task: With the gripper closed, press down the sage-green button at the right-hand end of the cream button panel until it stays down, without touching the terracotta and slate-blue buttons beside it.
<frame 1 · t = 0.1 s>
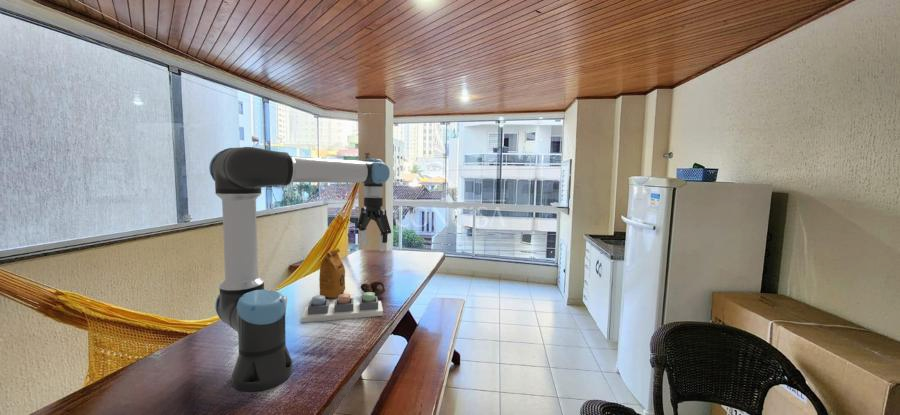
hand: (373, 248, 140), 28 cm above the table, tool pointing down, fingers open, 13 cm apart
brown piece: (372, 296, 164), on the table
button panel: (344, 313, 142), on the table
terracotta button: (344, 299, 142), point 6 cm above the table, slide at 0.0 cm
slate button: (318, 301, 139), point 6 cm above the table, slide at 0.0 cm
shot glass: (278, 315, 139), on the table
sage button: (368, 297, 144), point 6 cm above the table, slide at 0.0 cm
coffee package: (332, 295, 164), on the table
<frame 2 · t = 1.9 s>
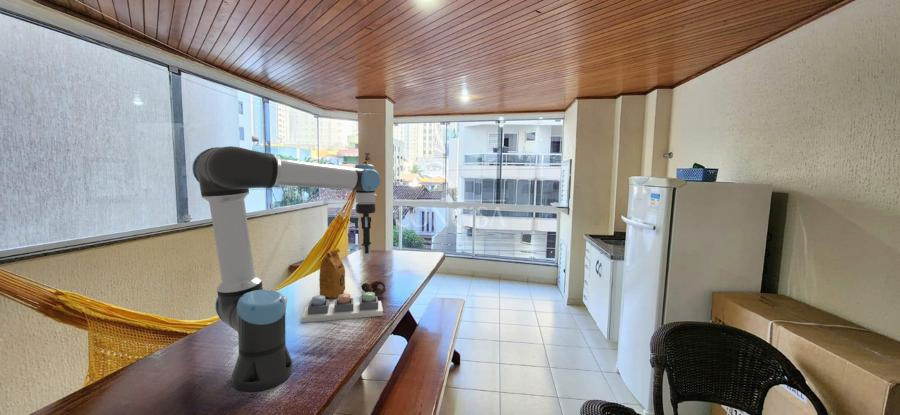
hand: (366, 260, 138), 23 cm above the table, tool pointing down, fingers closed
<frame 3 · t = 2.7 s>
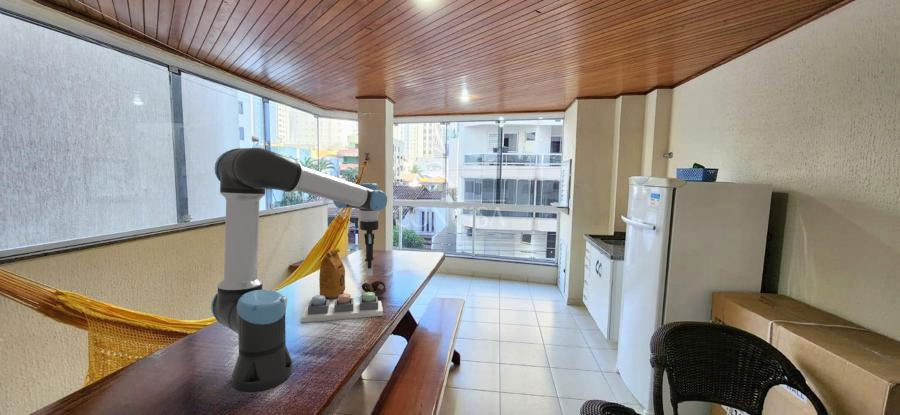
hand: (369, 275, 144), 16 cm above the table, tool pointing down, fingers closed
nothing on the table moved.
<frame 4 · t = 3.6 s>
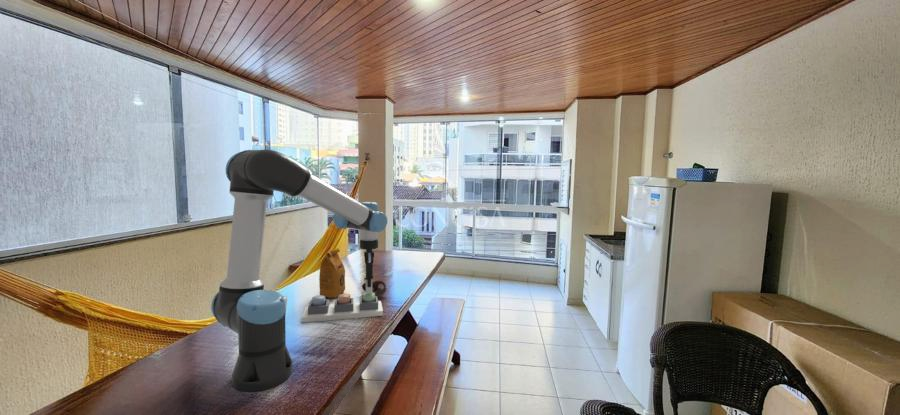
hand: (369, 293, 144), 8 cm above the table, tool pointing down, fingers closed
sage button: (368, 297, 144), point 6 cm above the table, slide at 0.1 cm, touching gripper
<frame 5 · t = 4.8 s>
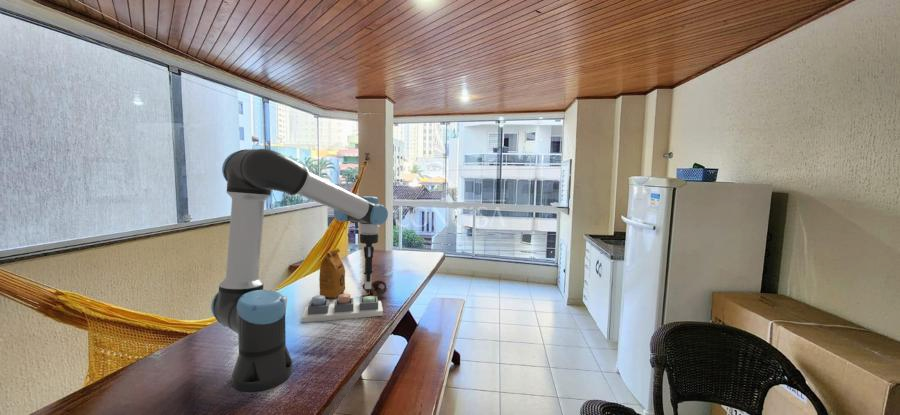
hand: (367, 288, 144), 10 cm above the table, tool pointing down, fingers closed
sage button: (368, 301, 145), point 4 cm above the table, slide at 1.7 cm
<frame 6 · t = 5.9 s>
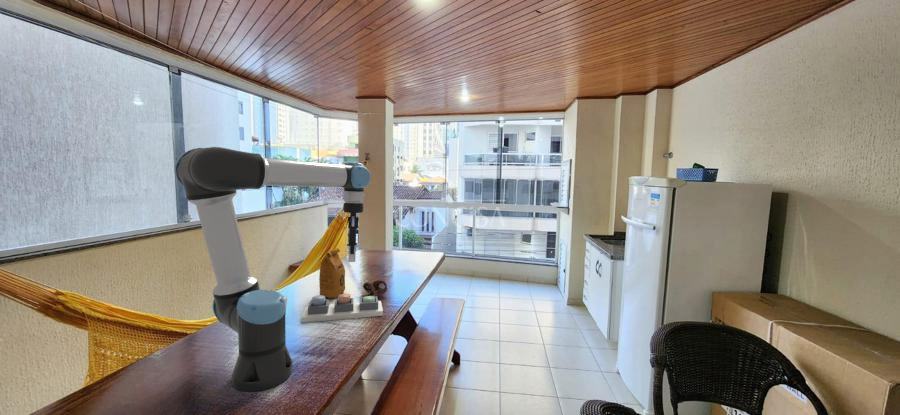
hand: (351, 261, 135), 24 cm above the table, tool pointing down, fingers closed
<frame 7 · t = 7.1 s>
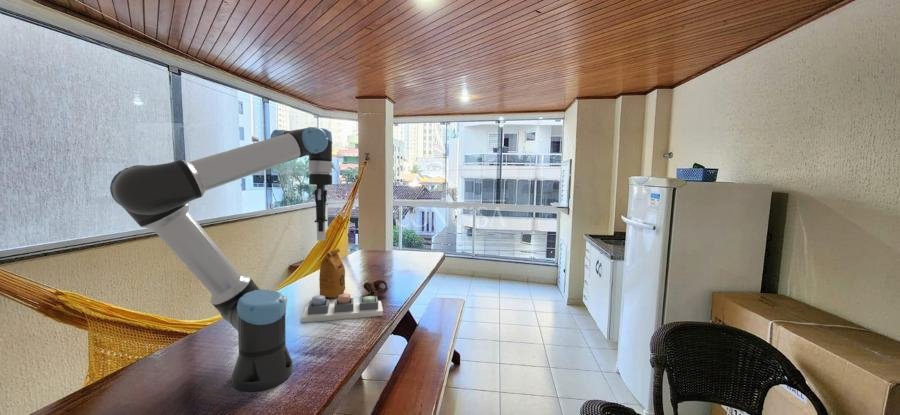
hand: (321, 240, 121), 34 cm above the table, tool pointing down, fingers closed
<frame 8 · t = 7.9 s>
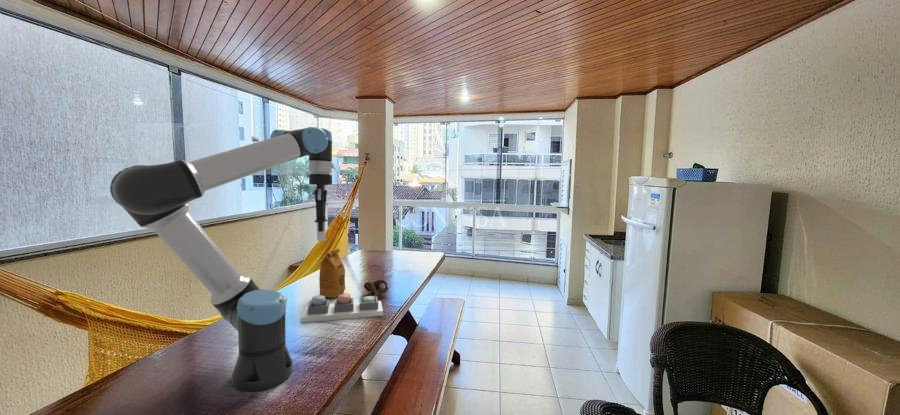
hand: (321, 240, 121), 34 cm above the table, tool pointing down, fingers closed
at the end: sage button slide at 1.7 cm; terracotta button slide at 0.0 cm; slate button slide at 0.0 cm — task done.
